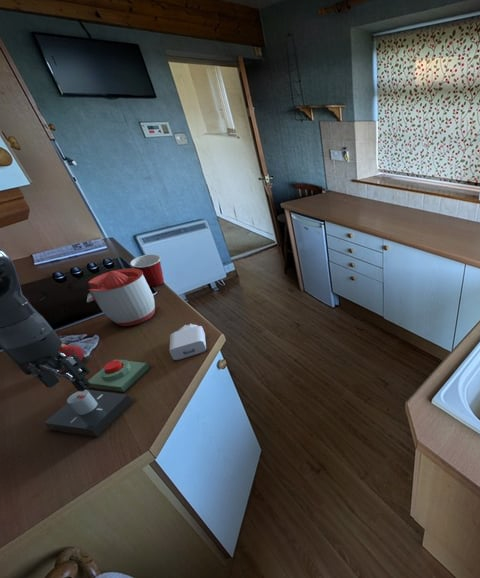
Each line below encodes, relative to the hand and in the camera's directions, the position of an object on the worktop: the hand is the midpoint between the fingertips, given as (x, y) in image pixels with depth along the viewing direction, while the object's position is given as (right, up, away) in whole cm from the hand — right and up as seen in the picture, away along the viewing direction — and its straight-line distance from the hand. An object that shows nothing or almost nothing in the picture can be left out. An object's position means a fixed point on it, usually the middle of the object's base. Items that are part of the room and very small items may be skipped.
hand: (69, 386), depth 70 cm
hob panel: (0, -9, +6) cm, 11 cm away
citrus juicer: (-19, +12, +40) cm, 46 cm away
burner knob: (0, -7, +4) cm, 8 cm away
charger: (+9, +5, +30) cm, 32 cm away
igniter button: (-3, 0, +15) cm, 15 cm away
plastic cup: (-27, +26, +62) cm, 72 cm away
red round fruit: (-20, 0, +21) cm, 29 cm away
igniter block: (-3, -3, +16) cm, 17 cm away
